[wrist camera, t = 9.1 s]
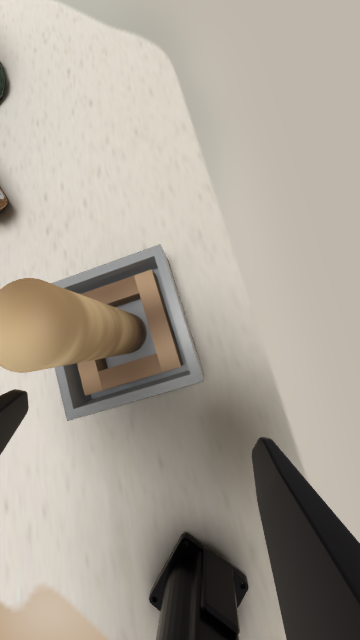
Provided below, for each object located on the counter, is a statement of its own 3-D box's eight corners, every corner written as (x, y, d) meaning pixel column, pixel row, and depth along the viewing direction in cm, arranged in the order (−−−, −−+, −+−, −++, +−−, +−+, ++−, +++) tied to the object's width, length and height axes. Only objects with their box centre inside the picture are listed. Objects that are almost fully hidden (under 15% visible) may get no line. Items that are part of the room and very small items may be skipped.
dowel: (128, 362, 20) (25, 392, 9) (99, 335, 21) (-35, 331, 9) (154, 330, 20) (88, 317, 9) (124, 305, 21) (24, 260, 9)
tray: (203, 374, 20) (203, 381, 17) (89, 407, 21) (67, 421, 18) (167, 259, 22) (160, 244, 18) (62, 296, 23) (36, 288, 19)
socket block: (183, 363, 20) (181, 366, 18) (96, 390, 21) (84, 395, 19) (156, 275, 21) (151, 269, 19) (74, 304, 22) (61, 300, 20)
